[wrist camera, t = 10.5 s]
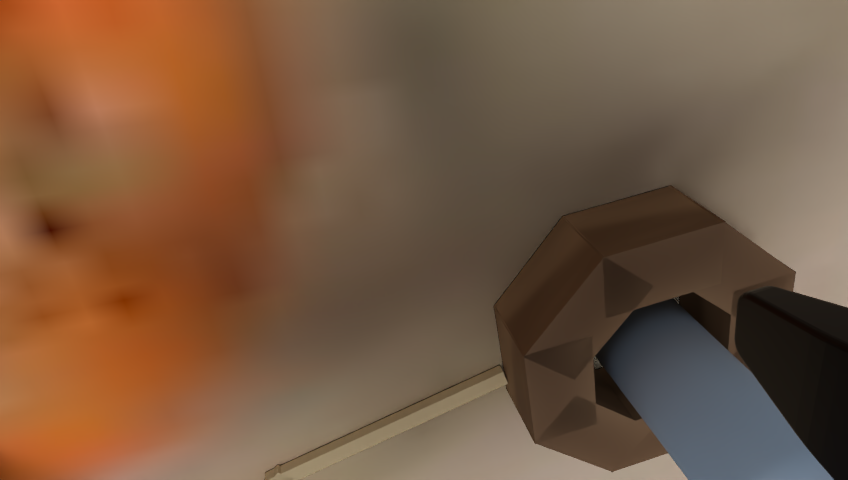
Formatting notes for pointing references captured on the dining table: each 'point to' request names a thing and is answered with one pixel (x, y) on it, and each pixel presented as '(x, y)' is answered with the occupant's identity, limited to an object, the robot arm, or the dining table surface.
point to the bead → (616, 313)
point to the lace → (389, 426)
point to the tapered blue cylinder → (702, 400)
